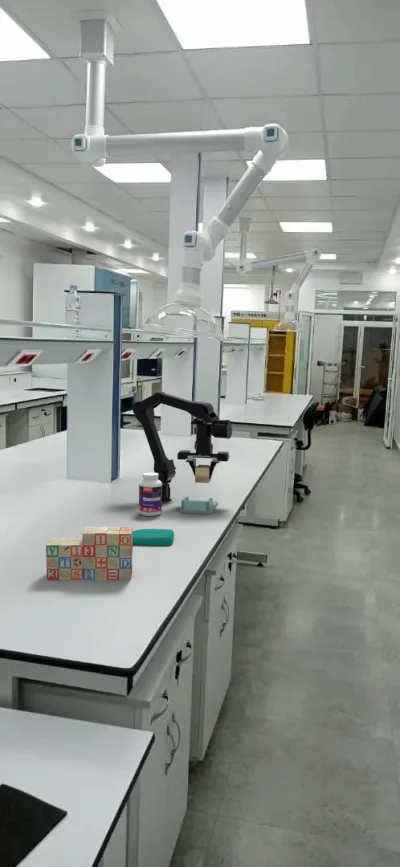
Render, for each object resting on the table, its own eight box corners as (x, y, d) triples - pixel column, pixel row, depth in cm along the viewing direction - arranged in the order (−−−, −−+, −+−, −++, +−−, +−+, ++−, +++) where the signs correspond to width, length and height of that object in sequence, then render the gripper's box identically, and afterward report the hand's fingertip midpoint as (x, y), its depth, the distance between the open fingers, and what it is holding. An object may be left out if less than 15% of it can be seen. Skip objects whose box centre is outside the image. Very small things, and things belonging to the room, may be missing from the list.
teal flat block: (171, 548, 192) (89, 546, 193) (175, 537, 202) (97, 536, 204) (171, 538, 191) (88, 537, 193) (175, 528, 202) (97, 527, 204)
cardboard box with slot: (208, 483, 239) (208, 467, 238) (195, 482, 239) (195, 467, 239) (210, 479, 244) (211, 465, 244) (197, 479, 245) (198, 464, 245)
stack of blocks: (46, 581, 163) (45, 533, 161) (50, 572, 169) (49, 526, 167) (131, 580, 164) (131, 533, 162) (133, 572, 170) (133, 526, 168)
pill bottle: (141, 517, 224) (141, 476, 222) (137, 511, 232) (136, 472, 230) (164, 516, 226) (164, 475, 224) (159, 510, 234) (159, 471, 232)
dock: (210, 514, 229) (210, 502, 229) (179, 512, 231) (180, 500, 231) (217, 504, 244) (218, 493, 243) (189, 502, 246) (189, 491, 245)
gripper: (231, 435, 246) (230, 475, 248) (183, 433, 249) (182, 473, 251) (227, 439, 235) (226, 481, 237) (177, 437, 238) (176, 479, 240)
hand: (203, 478), depth 242 cm, fingers closed on cardboard box with slot, 5 cm apart
